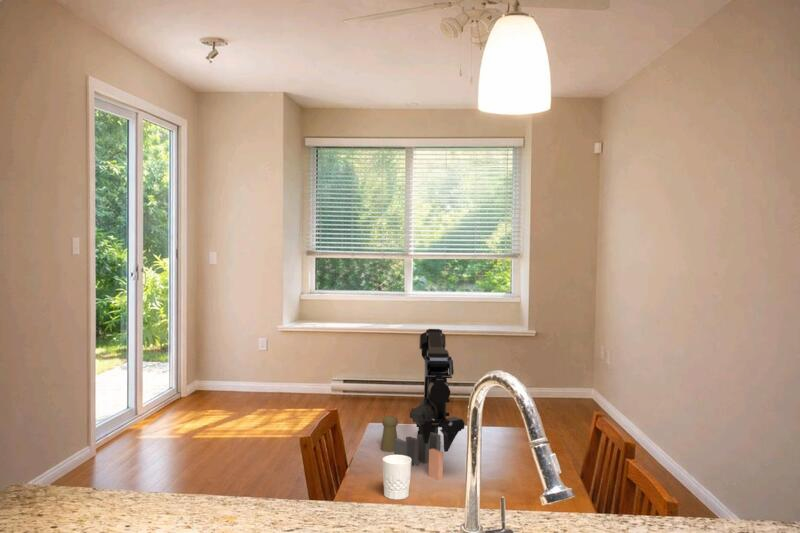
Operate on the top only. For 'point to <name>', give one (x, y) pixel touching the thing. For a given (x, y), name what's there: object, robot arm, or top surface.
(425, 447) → the grey domino
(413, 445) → the grey rectangular block
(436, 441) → the gray rectangular block
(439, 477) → the terracotta domino
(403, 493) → the white cup
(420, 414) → the robot arm
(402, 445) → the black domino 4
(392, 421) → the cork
